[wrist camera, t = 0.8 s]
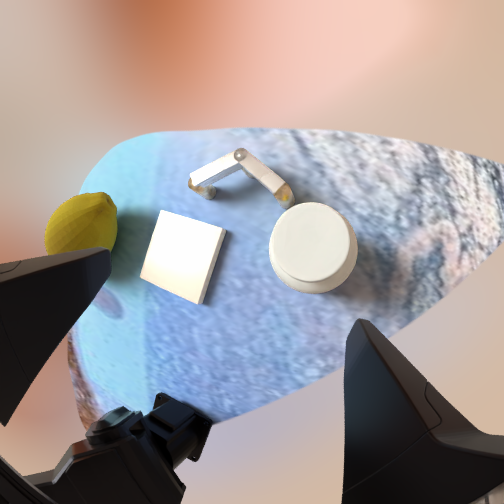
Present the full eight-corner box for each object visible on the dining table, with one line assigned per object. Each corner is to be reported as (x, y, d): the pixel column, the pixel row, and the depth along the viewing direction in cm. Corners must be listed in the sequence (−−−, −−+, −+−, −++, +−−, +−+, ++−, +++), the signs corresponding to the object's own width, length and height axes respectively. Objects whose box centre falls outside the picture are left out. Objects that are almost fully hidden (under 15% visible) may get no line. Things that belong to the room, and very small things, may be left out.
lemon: (84, 284, 30) (33, 281, 22) (76, 228, 31) (29, 216, 24) (146, 253, 27) (90, 242, 20) (134, 189, 29) (84, 165, 21)
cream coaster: (202, 303, 25) (197, 304, 24) (145, 277, 27) (139, 277, 26) (226, 230, 25) (222, 228, 24) (166, 212, 27) (161, 210, 26)
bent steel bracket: (289, 221, 24) (281, 210, 20) (200, 197, 26) (182, 185, 23) (303, 175, 24) (298, 158, 20) (216, 157, 26) (200, 140, 23)
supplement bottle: (277, 279, 23) (241, 274, 14) (297, 219, 23) (275, 177, 14) (337, 300, 22) (343, 311, 13) (357, 238, 22) (375, 206, 13)
